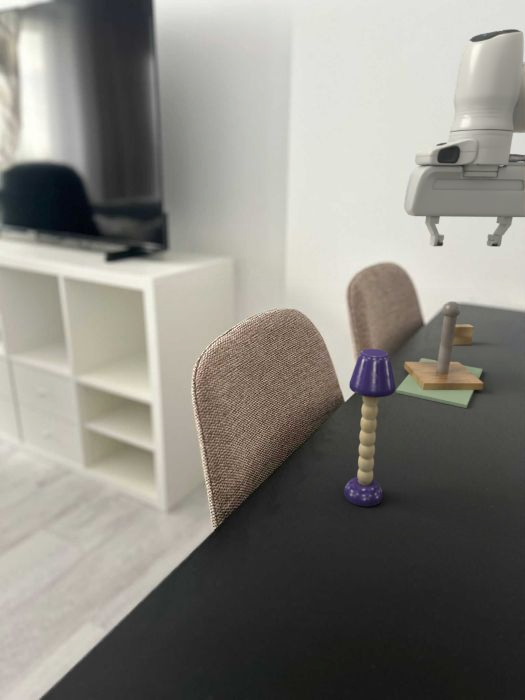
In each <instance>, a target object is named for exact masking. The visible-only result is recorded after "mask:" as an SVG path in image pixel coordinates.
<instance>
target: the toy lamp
mask: <svg viewBox="0 0 525 700" xmlns="http://www.w3.org/2000/svg"><path fill="white" fill-rule="evenodd" d="M395 382H396V381H395V376H394V370H393V366H392V360H391V356H390V354H389V353H388V351H385V350H383V349H378V348H365V349H363V350H361V351H360V353H359V354H358V357H357V359H356V362H355V365H354V368H353V371H352V374H351V377H350V380H349V386H348V387H349V389H350V390H351V391H352V392H353V393H354V394H357V395H360V396H361V397H362V406H361V408H360V409H361V418H360V423H359V424H360V432H359V435H358V436H359V441H360V443H359V445H358V455H359V456H358V460H357V466H358V469H357V475H356V477H353V478H351V479H349V481H347V483H346V485H345V487H344V489H343V495H344V498H345V499H346V500H347V501H348V502H349V503H351V504H353V505H355V506H358V507H366V508H368V507H374V506H377V505H379V504H380V503H381V502H382V501H383V497H384V494H383V489H382V487H381V485H380V484H379V483H378V482H377V481H376V480H375V479H374V470H373V469H374V466H375V459H374V456H375V452H376V446H375V443H376V438H377V434H376V430H377V426H378V420H377V416H378V413H379V408H378V407H379V406H378V403H379V401H380V398H385V397H389V396H391V395H393V394H394V393H395V392H396V383H395Z"/></svg>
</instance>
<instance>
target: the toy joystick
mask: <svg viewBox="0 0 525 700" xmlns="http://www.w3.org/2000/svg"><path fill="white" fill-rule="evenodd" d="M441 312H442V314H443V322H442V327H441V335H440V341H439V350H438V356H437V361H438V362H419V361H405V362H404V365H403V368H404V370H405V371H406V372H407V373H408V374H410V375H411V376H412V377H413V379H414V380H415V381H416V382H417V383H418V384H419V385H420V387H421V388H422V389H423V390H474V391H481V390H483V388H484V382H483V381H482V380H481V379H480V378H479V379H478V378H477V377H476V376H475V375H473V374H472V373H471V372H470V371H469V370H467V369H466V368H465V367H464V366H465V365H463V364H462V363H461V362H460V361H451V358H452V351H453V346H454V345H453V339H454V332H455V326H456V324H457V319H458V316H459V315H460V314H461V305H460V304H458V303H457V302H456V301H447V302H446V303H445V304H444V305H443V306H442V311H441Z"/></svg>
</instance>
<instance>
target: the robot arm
mask: <svg viewBox="0 0 525 700" xmlns="http://www.w3.org/2000/svg"><path fill="white" fill-rule="evenodd" d="M524 39H525V37H524V32H523V31H522V30H519V29H515V28H510V29H509V28H508V29H503V30H496V31H491V32H485V33H480V34H477V35H474V36H472V37H471V38H470V39H469V40H467V41H466V43H465V45H464V48H463V51H462V53H461V57H460V61H459V65H458V70H457V73H456V74H457V75H456V81H455V88H454V94H453V107H454V115H453V121H452V123H451V126H450V129H449V135H448V136H449V137H448V140H447V141H446V142H440V143H438V144H436V145H433V146H430V147H427V148H424V149H421V150H418V151H417V152H416V153H415V157H414V163H415V164H416V165H418V166H417V167H415V168H414V169H413V170H412V171H411V173H410V175H409V177H408V181H407V185H406V186H407V187H406V190H405V197H404V202H403V208H404V211H405V212H406V214H407V215H408V216H411V217H412V216H413V217H425V220H424V221H425V222H424V223H425V226H426V228H427V230H428V232H429V234H430V238H429V246H431V247H443V246H444V239H445V235H444V234H441V233H439V230H438V228H437V225H439V223H440V219H441V217H447V218H448V217H451V218H452V217H453V218H454V217H455V218H456V217H457V218H459V217H462V218H463V217H464V218H465V217H466V218H473V217H474V218H496V224H498V226H497V227H496V228H495V230H494V232H493V233H490V234H489V233H488V234H487V240H486V245H487V247H497V248H499V247H501V245H502V241H503V240H502V239H503V236H504V235H505V234H506V233H507V231H508V229H510V227H511V226H512V224H513V223H512V222H513V218H525V154H518V153H511V148H512V143H513V136H514V134H516V133H517V134H525V60H524V51H525V50H524V48H525V41H524Z"/></svg>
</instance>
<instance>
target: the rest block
mask: <svg viewBox="0 0 525 700" xmlns="http://www.w3.org/2000/svg"><path fill="white" fill-rule="evenodd" d="M474 328H475V327H474V326H473V325H471V324H467V323H466V324H464V323H463V324H457V323H456V326H455V332H454V339H453V346H471V345H472V342H473V334H474Z"/></svg>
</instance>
